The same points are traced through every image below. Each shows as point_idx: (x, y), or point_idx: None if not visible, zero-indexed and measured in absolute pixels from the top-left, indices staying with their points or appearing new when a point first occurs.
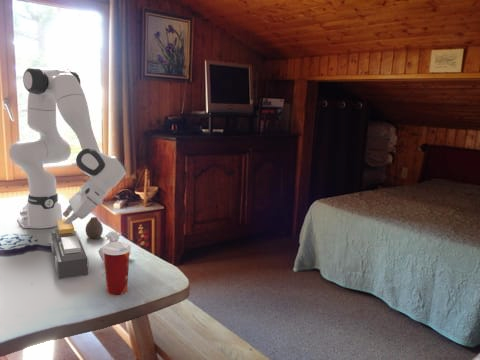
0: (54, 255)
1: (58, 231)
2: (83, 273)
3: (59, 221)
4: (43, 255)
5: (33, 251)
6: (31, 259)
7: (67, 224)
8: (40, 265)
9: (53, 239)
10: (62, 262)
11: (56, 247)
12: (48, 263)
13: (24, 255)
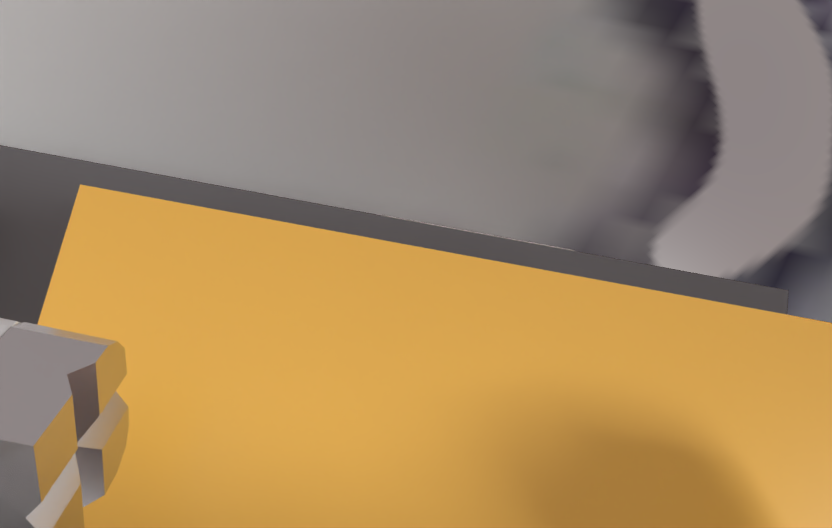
0: None
1: None
2: None
3: (800, 380)
4: (457, 181)
5: (650, 118)
6: (399, 45)
7: (418, 494)
8: (162, 81)
9: (430, 233)
10: None
11: (8, 171)
12: (167, 166)
13: (564, 12)
